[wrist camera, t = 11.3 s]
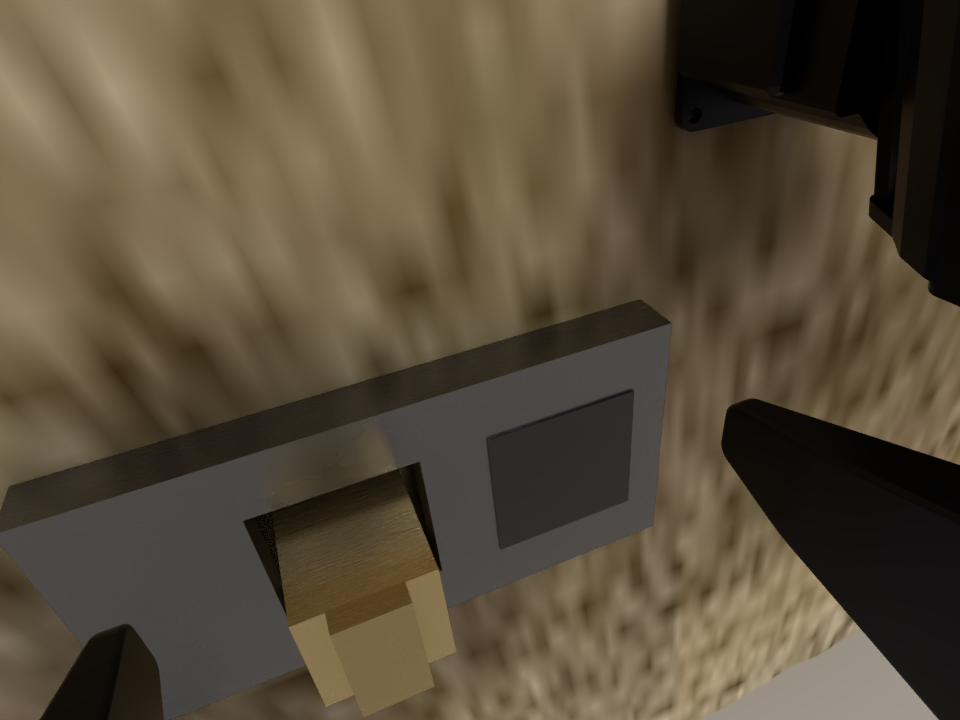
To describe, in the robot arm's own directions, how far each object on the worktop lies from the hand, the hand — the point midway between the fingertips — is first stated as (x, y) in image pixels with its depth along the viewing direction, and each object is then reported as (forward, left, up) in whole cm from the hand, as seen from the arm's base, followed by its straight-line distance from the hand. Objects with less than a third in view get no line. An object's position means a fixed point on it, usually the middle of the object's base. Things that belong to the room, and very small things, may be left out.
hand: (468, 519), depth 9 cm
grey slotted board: (0, +11, -12) cm, 16 cm away
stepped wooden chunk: (+2, +11, -12) cm, 16 cm away
